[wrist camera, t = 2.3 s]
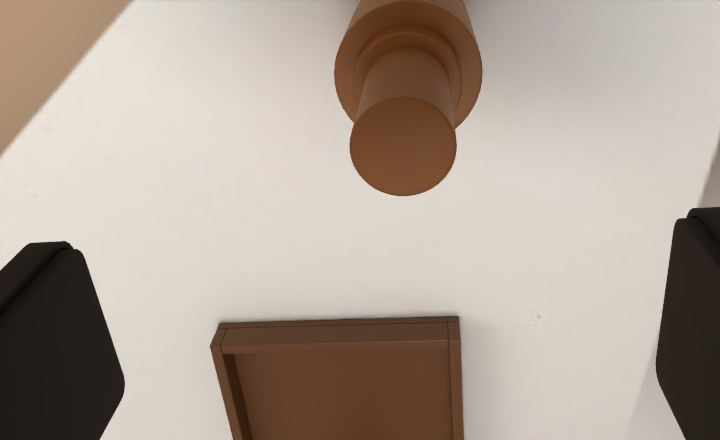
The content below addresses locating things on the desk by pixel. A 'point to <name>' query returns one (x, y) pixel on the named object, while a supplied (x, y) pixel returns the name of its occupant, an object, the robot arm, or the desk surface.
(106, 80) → the desk surface
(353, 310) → the desk surface
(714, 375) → the robot arm
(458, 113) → the bottle
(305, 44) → the desk surface
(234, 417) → the tray
